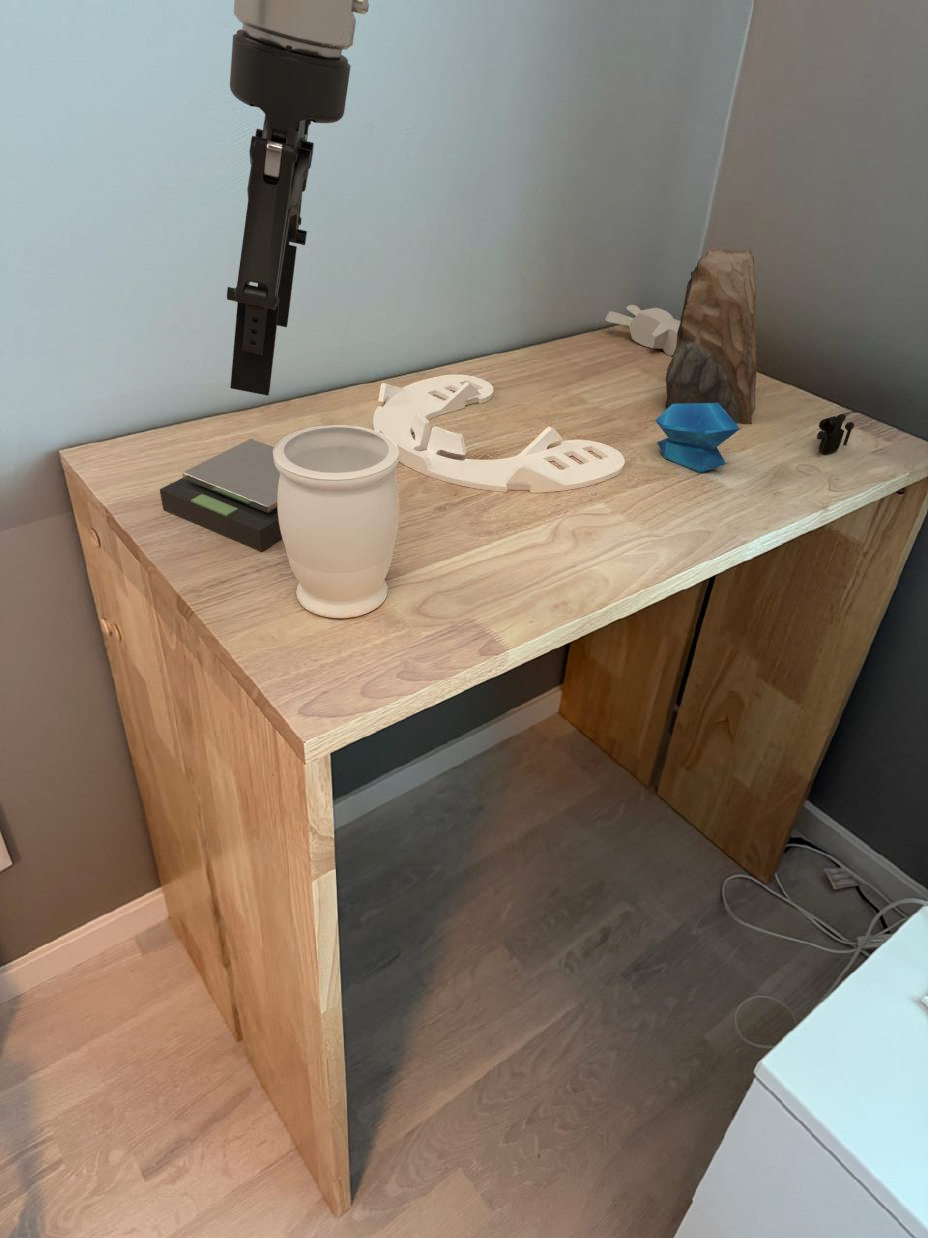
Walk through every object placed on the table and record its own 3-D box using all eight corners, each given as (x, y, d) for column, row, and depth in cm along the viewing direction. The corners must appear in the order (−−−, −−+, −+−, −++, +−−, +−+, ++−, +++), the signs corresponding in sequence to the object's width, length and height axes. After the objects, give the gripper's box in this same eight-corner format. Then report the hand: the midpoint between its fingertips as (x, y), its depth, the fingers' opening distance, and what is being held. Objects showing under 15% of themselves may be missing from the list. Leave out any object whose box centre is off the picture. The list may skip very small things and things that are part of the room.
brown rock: (660, 419, 119) (690, 266, 107) (649, 383, 129) (675, 240, 118) (753, 425, 119) (794, 272, 107) (734, 389, 129) (769, 246, 117)
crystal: (668, 388, 110) (759, 395, 103) (669, 454, 114) (756, 466, 107) (636, 404, 106) (729, 412, 98) (638, 472, 110) (727, 486, 102)
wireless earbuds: (814, 460, 112) (826, 423, 109) (799, 452, 113) (810, 415, 110) (849, 448, 115) (861, 412, 112) (833, 441, 116) (845, 405, 113)
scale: (163, 509, 94) (159, 487, 92) (254, 462, 103) (252, 441, 102) (261, 552, 88) (259, 529, 86) (348, 497, 98) (348, 476, 96)
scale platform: (182, 478, 93) (181, 472, 93) (251, 444, 100) (250, 438, 100) (268, 513, 88) (267, 506, 88) (333, 474, 96) (333, 468, 95)
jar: (295, 635, 78) (283, 484, 69) (277, 572, 85) (264, 428, 76) (411, 617, 81) (414, 470, 72) (383, 558, 88) (383, 418, 79)
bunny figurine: (679, 338, 134) (604, 301, 141) (670, 369, 137) (596, 332, 145) (713, 326, 140) (638, 291, 147) (703, 356, 143) (631, 320, 150)
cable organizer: (640, 467, 107) (645, 442, 105) (488, 522, 95) (491, 494, 93) (464, 374, 129) (465, 351, 127) (322, 409, 116) (320, 384, 114)
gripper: (342, 84, 47) (295, 435, 60) (358, 35, 67) (320, 308, 79) (199, 46, 46) (181, 414, 59) (258, 7, 65) (235, 290, 78)
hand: (261, 354), depth 69 cm, fingers open, 13 cm apart
